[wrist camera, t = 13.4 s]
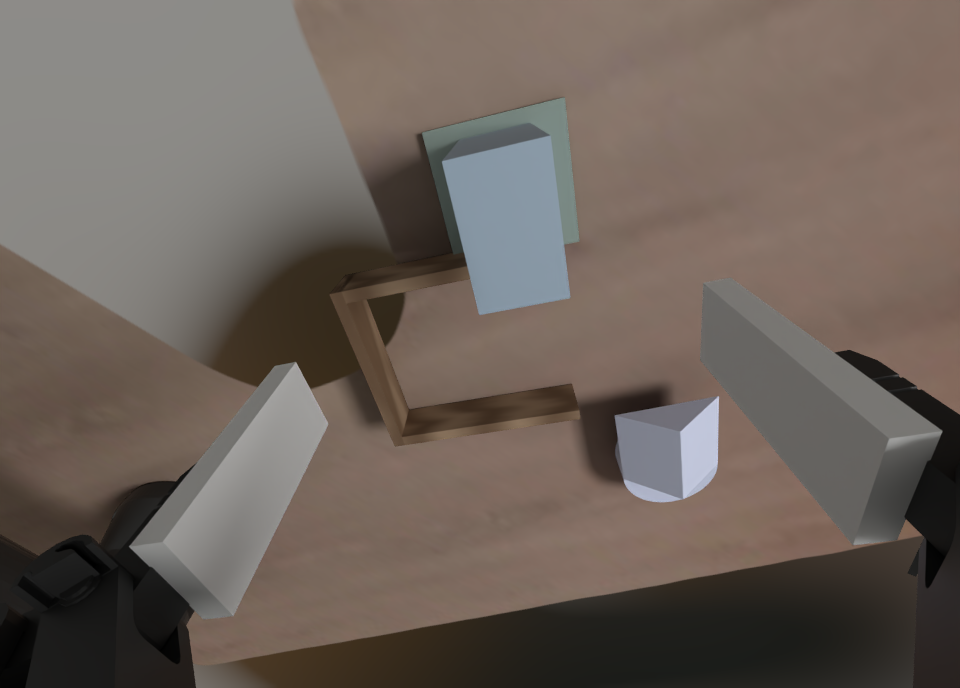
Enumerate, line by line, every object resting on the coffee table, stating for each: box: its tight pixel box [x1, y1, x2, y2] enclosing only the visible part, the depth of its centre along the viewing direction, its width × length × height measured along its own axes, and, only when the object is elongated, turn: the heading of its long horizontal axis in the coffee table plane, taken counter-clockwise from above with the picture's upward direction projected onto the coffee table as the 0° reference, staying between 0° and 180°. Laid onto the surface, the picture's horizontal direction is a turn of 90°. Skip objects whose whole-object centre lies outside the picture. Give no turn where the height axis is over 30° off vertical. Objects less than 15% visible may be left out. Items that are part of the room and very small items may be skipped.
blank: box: [442, 123, 570, 315], centre depth 26 cm, size 5×8×12 cm, turn 12°
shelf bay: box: [329, 253, 580, 446], centre depth 36 cm, size 18×16×4 cm
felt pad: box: [422, 97, 579, 255], centre depth 31 cm, size 10×10×1 cm
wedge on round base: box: [615, 396, 719, 502], centre depth 41 cm, size 9×7×13 cm
